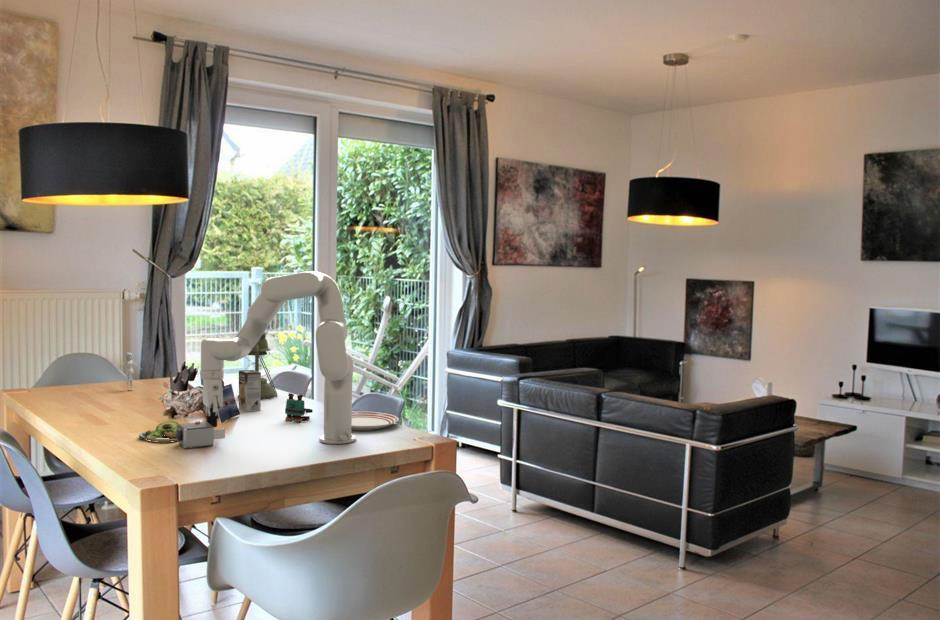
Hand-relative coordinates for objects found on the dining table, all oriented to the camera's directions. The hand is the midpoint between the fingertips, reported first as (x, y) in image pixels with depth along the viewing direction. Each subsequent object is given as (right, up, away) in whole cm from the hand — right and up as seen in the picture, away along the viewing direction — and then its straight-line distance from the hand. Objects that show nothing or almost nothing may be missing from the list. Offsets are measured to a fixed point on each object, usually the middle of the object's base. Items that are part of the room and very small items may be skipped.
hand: (211, 426), depth 265 cm
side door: (+2, -4, -12) cm, 13 cm away
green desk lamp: (-8, 0, +86) cm, 87 cm away
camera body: (-2, -5, -8) cm, 10 cm away
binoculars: (+22, -3, +36) cm, 42 cm away
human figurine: (-72, +2, +98) cm, 121 cm away
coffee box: (-3, -1, +56) cm, 56 cm away
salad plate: (-16, -4, +2) cm, 17 cm away
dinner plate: (+48, -4, +27) cm, 56 cm away
